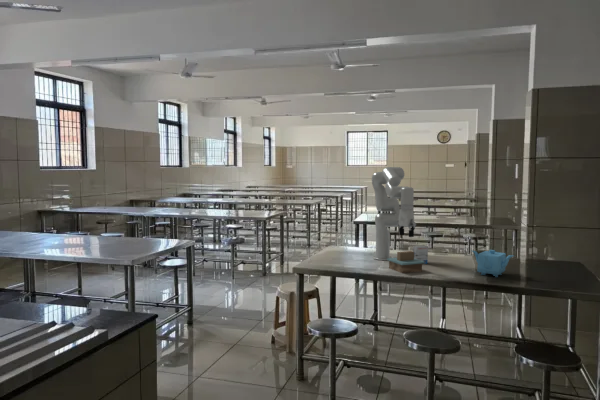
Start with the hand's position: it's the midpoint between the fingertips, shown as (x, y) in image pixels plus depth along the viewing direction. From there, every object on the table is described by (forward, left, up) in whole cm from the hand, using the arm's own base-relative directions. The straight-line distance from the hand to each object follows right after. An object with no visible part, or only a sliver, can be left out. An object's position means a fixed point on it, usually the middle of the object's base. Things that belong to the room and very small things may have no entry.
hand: (406, 235), depth 279 cm
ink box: (-16, +23, -22) cm, 36 cm away
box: (0, 0, -22) cm, 22 cm away
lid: (0, 0, -16) cm, 16 cm away
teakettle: (+25, +43, -22) cm, 54 cm away
